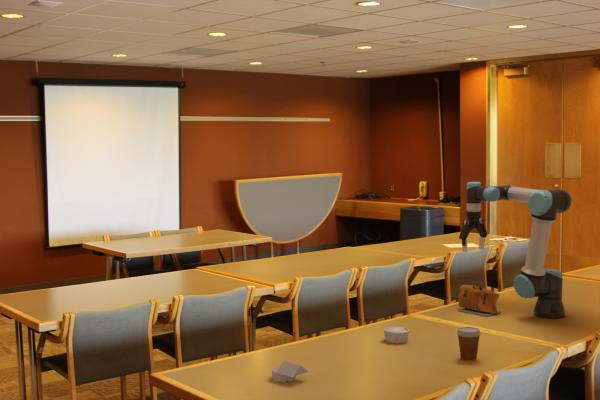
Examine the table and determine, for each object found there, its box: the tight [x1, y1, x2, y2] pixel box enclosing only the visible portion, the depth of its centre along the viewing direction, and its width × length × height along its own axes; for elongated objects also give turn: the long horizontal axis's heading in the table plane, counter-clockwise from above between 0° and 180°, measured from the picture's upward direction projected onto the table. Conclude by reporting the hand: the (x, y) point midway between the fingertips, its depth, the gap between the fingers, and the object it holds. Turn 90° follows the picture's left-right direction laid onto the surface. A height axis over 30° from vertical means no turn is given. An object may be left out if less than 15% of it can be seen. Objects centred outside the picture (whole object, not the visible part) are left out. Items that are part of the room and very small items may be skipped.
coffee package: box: [457, 284, 501, 315], centre depth 396 cm, size 10×12×22 cm
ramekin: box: [383, 326, 410, 345], centre depth 342 cm, size 11×11×5 cm
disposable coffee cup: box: [456, 326, 482, 362], centre depth 314 cm, size 10×10×12 cm
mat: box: [457, 308, 502, 318], centre depth 395 cm, size 18×12×1 cm, turn 41°
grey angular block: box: [271, 360, 310, 383], centre depth 290 cm, size 9×7×13 cm
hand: (473, 250), depth 413 cm, fingers open, 13 cm apart
